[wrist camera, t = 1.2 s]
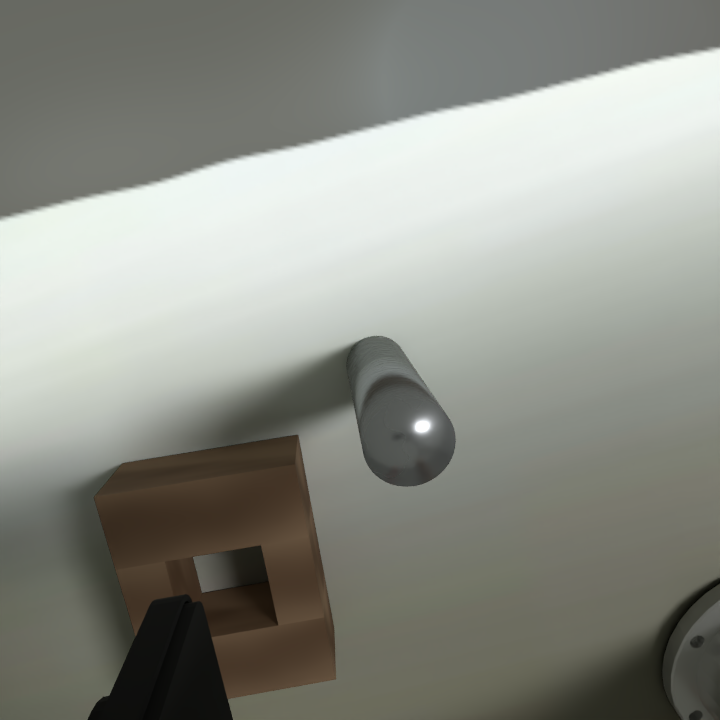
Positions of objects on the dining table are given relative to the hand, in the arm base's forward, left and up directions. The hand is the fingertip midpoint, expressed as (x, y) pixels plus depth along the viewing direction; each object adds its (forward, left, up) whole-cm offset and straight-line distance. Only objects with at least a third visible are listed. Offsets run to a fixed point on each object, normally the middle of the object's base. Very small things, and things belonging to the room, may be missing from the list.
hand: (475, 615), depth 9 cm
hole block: (-9, +9, -18) cm, 22 cm away
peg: (0, 0, -18) cm, 18 cm away
